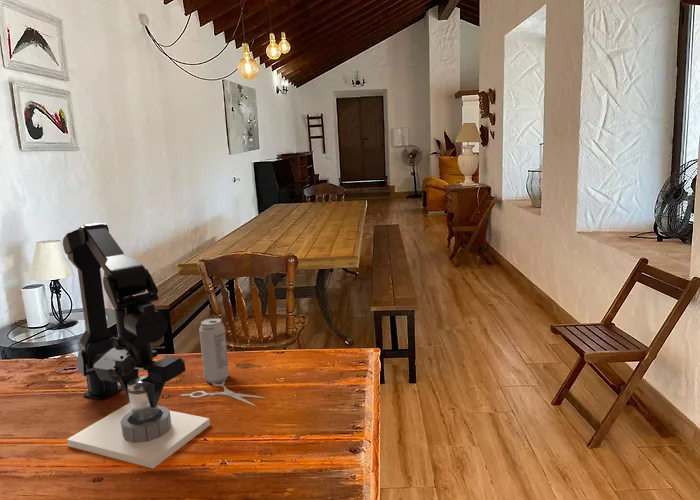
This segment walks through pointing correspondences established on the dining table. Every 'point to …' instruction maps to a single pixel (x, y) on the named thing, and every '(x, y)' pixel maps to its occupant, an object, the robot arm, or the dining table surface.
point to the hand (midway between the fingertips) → (143, 404)
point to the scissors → (226, 392)
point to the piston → (140, 400)
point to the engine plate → (137, 451)
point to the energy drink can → (214, 350)
